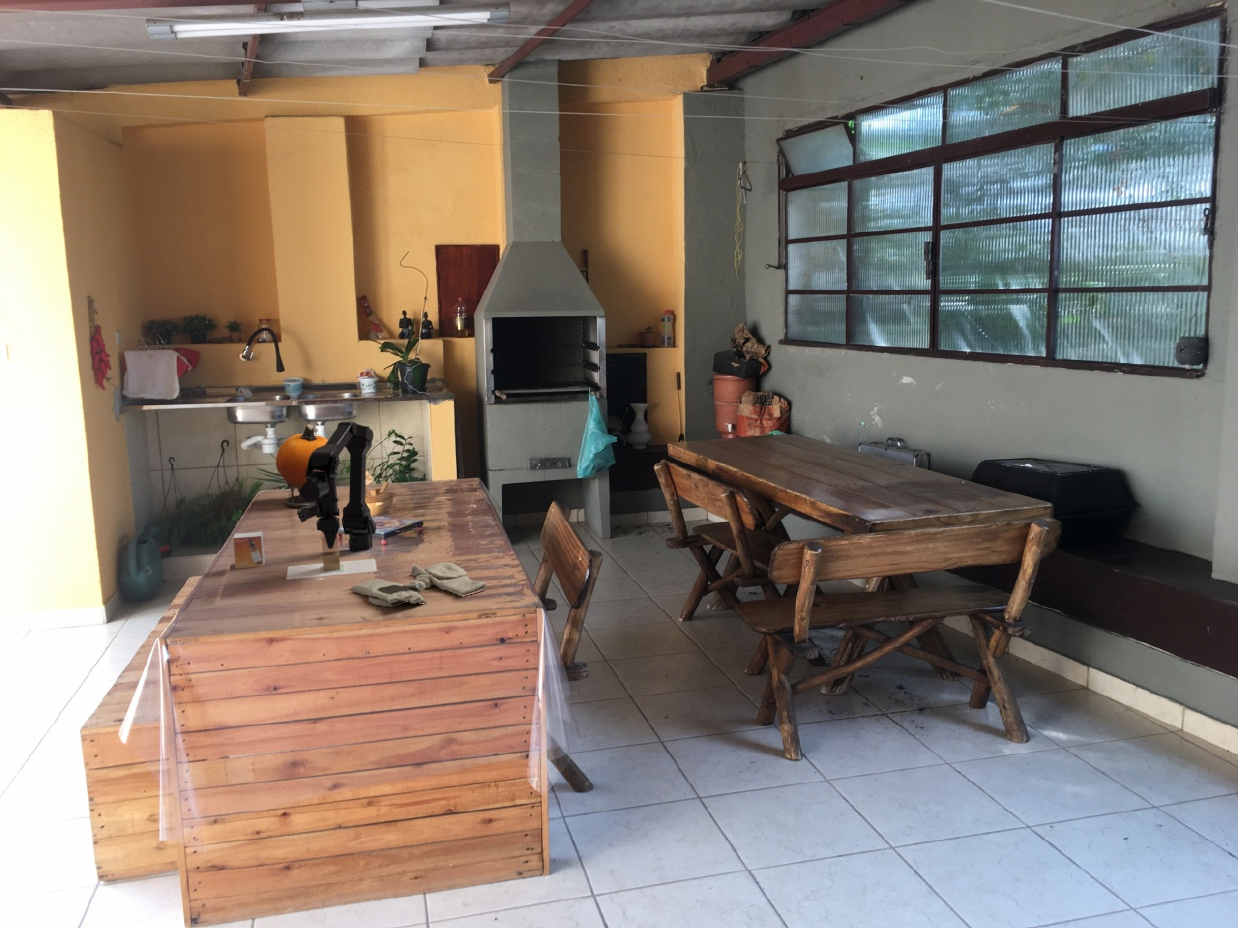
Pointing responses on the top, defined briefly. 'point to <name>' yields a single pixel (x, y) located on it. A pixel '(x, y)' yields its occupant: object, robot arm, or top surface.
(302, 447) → the pumpkin
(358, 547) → the robot arm
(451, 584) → the pair of gloves
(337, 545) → the terracotta block
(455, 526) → the top surface
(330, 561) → the walnut block
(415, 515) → the top surface
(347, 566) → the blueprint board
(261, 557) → the small box
